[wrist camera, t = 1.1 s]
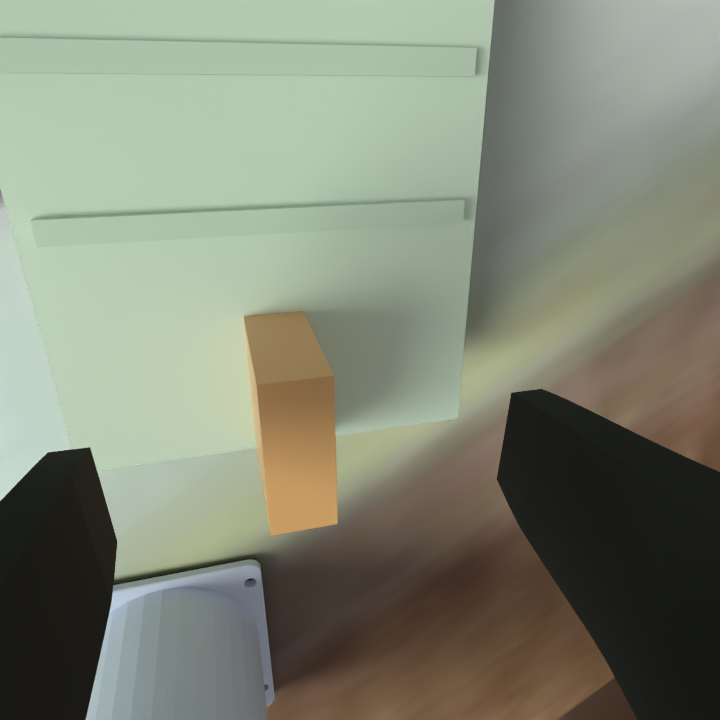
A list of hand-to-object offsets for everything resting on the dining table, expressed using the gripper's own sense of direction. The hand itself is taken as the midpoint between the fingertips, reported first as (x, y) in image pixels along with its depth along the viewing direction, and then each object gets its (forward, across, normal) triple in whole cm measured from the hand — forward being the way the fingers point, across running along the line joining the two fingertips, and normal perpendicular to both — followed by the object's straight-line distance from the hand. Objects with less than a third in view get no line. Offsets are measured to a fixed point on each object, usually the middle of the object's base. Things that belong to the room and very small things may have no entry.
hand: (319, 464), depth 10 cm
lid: (+7, 0, -3) cm, 8 cm away
